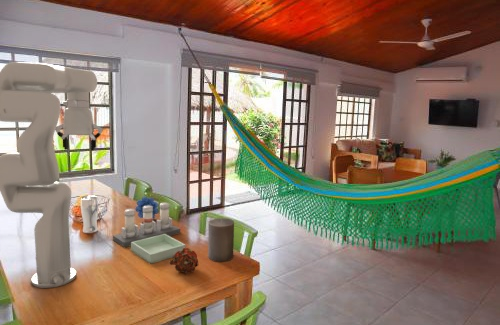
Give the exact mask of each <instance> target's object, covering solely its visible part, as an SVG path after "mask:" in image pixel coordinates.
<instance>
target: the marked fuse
mask: <svg viewBox="0 0 500 325" xmlns="http://www.w3.org/2000/svg"><path fill="white" fill-rule="evenodd" d="M152 212H153V206H143V218H142V224H144V233H145V234H149V233H152V232H153V227H152V221H154V219H153V217H152Z"/></svg>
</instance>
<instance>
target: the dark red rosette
mask: <svg viewBox="0 0 500 325" xmlns="http://www.w3.org/2000/svg"><path fill="white" fill-rule="evenodd" d="M171 259H172V260H171ZM171 259H170V260H169V264H170V265H172V266H175V267H174V268H175V270H176V271H177V272H178V273H179V272H182V273H184V274H190V273H193V272H194V271H195V269H196V268H197V267H199V260H198V254H197V252H195V250H191V249H190V248H189V247H187V248H183V250H182V251H177V252H176V253H175V254H174V257H172V258H171Z"/></svg>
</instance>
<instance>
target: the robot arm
mask: <svg viewBox="0 0 500 325" xmlns="http://www.w3.org/2000/svg"><path fill="white" fill-rule="evenodd" d="M97 88H98V78H97V75H96V73H95V72H93V71H92V70H88V69H87V70H86V69H80V68H73V67H70V66H69V67H67V66H63V65H62V66H61V65H56V64H55V65H54V64H50V63H44V62H23V61H11V62H8V63H6V64H5V65H4V66H3V68H2V69H1V70H0V122H5V123H7V122H10V123H12V122H13V123H30V124H29V125H28V127H27V128H25V130H23V132H22V133H21V134H20V136H19V137H18V139H17V141H16V147H17V150H18V152H7V153H3V154H1V155H0V194H1V197H2V198H3V201H4V203H5V205H6V208H7V209H8V210H9V211H10V212H12V213H16V214H17V213H18V214H20V213H21V214H25V213H26V214H27V213H29V214H32V213H33V214H42V216H41V217H40V218H39V219H38V220H37V222H36V223H35V225H34V229H33V230H34V231H33V232H34V246H35V249H34V250H35V268H36V273H35V274H34V275H33V276H32V277H31V278H30V279H31V284H32V286H34V287H36V288H39V289H40V288H41V289H51V288H57V287H62V286H64V285H67V284H68V283H71V282H72V281H73V280H75V279H76V277H77V271H76V269H75V268H72V267H71V247H70V246H71V240H70V208H71V199H72V190H71V187H70V186H69V185H68V184H66V183H64V182H61V181H58V180H59V179H60V168H59V167H60V166H59V164H58V159H57V155H56V151H55V148H54V144H53V143H54V135H55V132H56V134H57V135H58V137H60V138H61V140H62V147H63V149H64V150H65V151H67V150H69V138H68V137H69V136H89V137H90V138H91V140H90V150H91V151H94V150H96V148H97V139H98V138H99V137H100V136H101V134H102V133H103V131H104V128H102V127H101V126H98V125H97V124H94V119H93V117H94V116H93V112H92V109H91V108H90V95H89V94H90V93H94V92H95V91H96V89H97ZM56 94H66V100H65V101H62V102H63V103H62V104H63V106H66V108H64V114H63V123H61V124H59V125H58V123H59V118H60V114H61V110H62V109H61V108H62V107H61V101H60V98H59V97H58V96H57V95H56ZM62 128H63V129H62ZM61 129H62V130H63V132H62V131H61ZM95 130H96V131H97V132H96V134H95V133H94V131H95Z"/></svg>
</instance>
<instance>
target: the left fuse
mask: <svg viewBox="0 0 500 325" xmlns="http://www.w3.org/2000/svg"><path fill="white" fill-rule="evenodd" d="M135 225H136V210H135V209H134V208H126V209H125V210H124V228H125V229H126V238H133V237H135Z"/></svg>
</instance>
